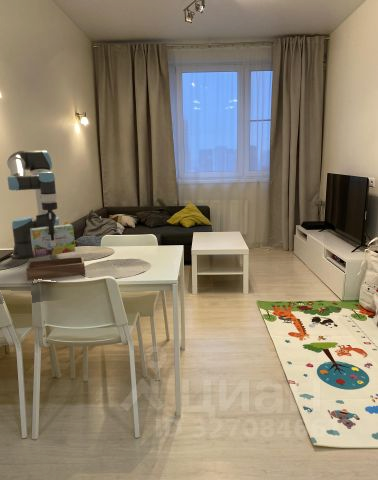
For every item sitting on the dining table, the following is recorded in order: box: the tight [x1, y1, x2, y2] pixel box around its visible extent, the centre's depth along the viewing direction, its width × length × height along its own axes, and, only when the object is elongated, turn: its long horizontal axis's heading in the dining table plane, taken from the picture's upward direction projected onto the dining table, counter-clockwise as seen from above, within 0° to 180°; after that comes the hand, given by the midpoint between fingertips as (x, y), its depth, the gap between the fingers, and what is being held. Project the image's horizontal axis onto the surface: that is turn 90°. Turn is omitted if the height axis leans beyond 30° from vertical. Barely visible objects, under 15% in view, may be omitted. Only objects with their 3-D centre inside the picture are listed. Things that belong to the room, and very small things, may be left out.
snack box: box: [30, 223, 76, 259], centre depth 197 cm, size 21×6×15 cm, turn 125°
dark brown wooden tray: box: [25, 256, 86, 282], centre depth 187 cm, size 14×27×6 cm, turn 108°
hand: (53, 244), depth 197 cm, fingers closed on snack box, 7 cm apart
